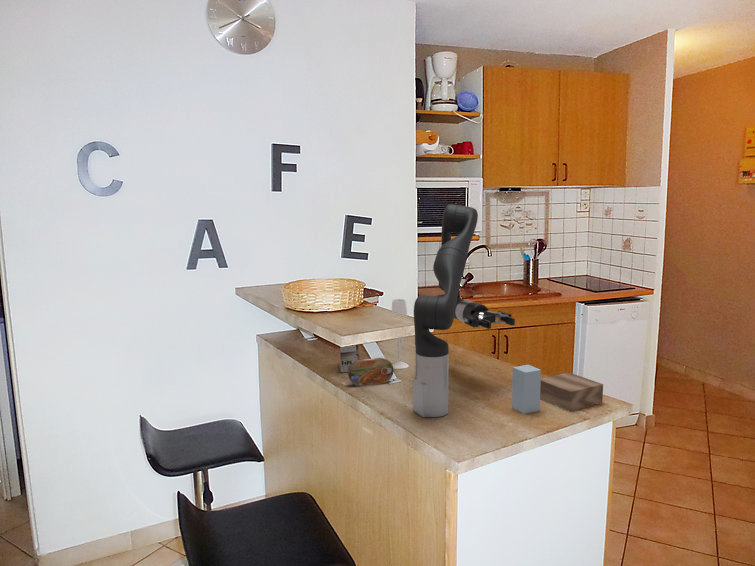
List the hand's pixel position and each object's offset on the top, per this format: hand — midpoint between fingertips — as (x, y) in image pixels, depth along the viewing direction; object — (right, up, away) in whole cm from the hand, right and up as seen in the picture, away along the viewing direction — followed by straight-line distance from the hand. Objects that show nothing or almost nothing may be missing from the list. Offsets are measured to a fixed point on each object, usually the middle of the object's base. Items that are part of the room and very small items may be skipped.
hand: (502, 323), depth 170 cm
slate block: (+5, -24, -7) cm, 26 cm away
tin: (-39, -21, +16) cm, 48 cm away
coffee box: (-47, -19, +33) cm, 60 cm away
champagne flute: (-29, -18, +35) cm, 49 cm away
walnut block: (+20, -23, -1) cm, 30 cm away
